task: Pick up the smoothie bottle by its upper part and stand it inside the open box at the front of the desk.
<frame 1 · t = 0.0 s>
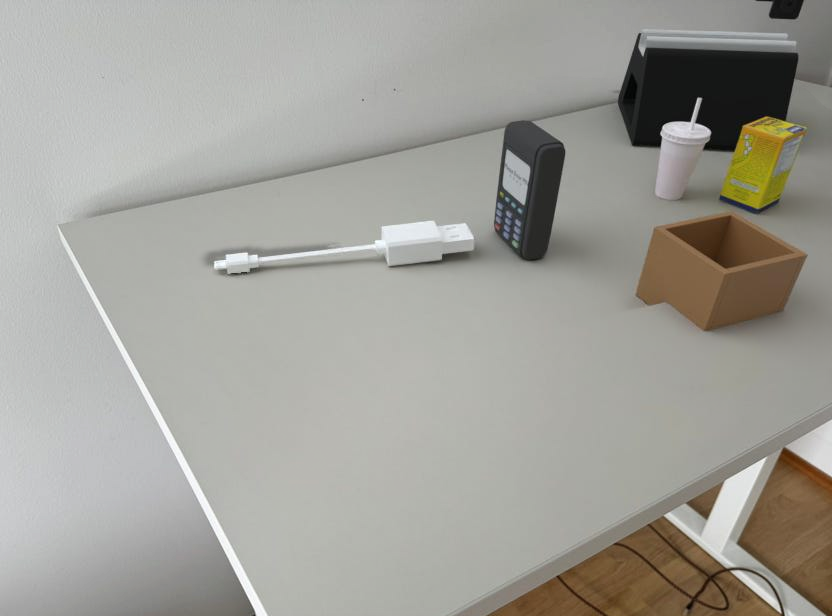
hand: (774, 9, 90), 24 cm above the table, tool pointing down, fingers open, 9 cm apart
card reader: (517, 245, 93), on the table
charging cable: (348, 262, 90), on the table
supplement box: (747, 202, 101), on the table
open box: (704, 309, 80), on the table
device stand: (690, 127, 125), on the table
smoothie: (667, 195, 104), on the table
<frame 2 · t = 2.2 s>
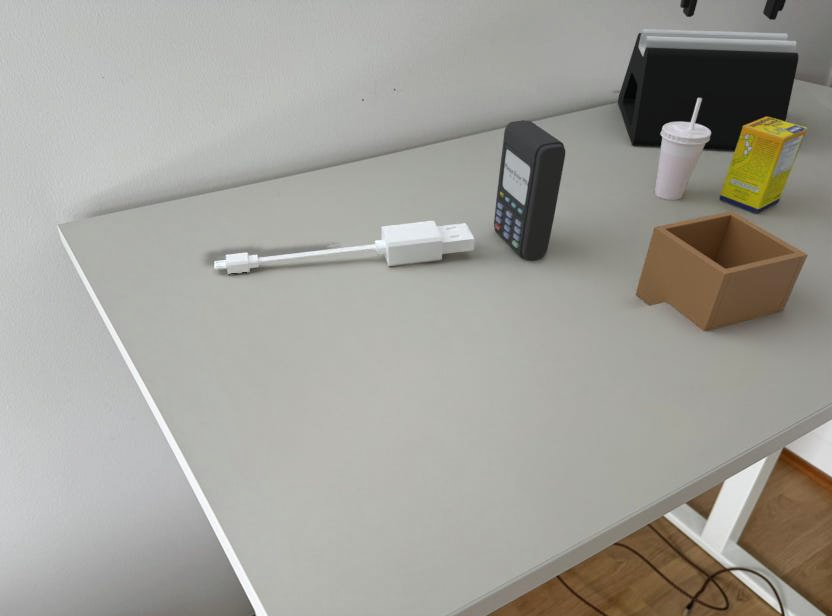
hand: (727, 15, 89), 24 cm above the table, tool pointing down, fingers open, 9 cm apart
nothing on the table moved.
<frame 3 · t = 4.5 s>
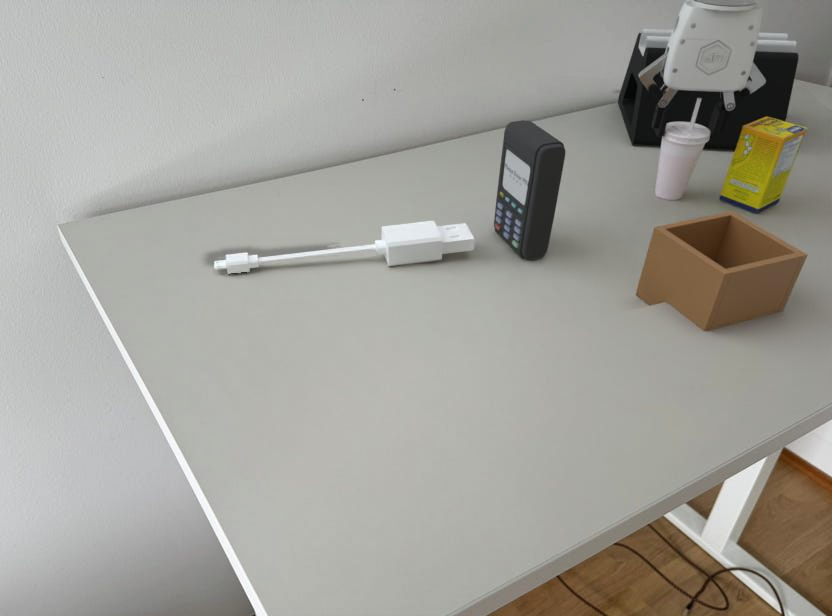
hand: (685, 133, 98), 9 cm above the table, tool pointing down, fingers closed on smoothie, 6 cm apart
smoothie: (667, 195, 104), on the table, touching gripper
everything else where it was.
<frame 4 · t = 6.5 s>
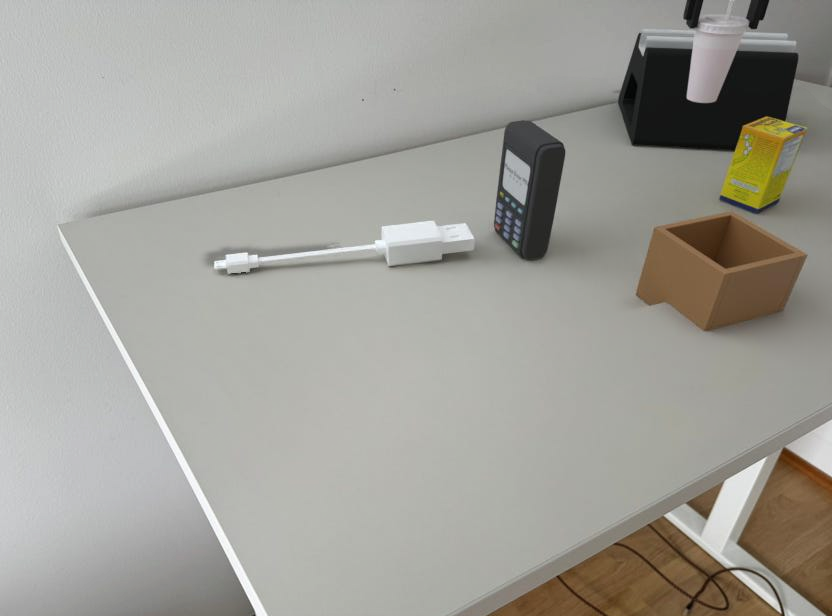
hand: (720, 25, 89), 23 cm above the table, tool pointing down, fingers closed on smoothie, 6 cm apart
smoothie: (700, 99, 94), point 14 cm above the table, touching gripper
everything else where it was.
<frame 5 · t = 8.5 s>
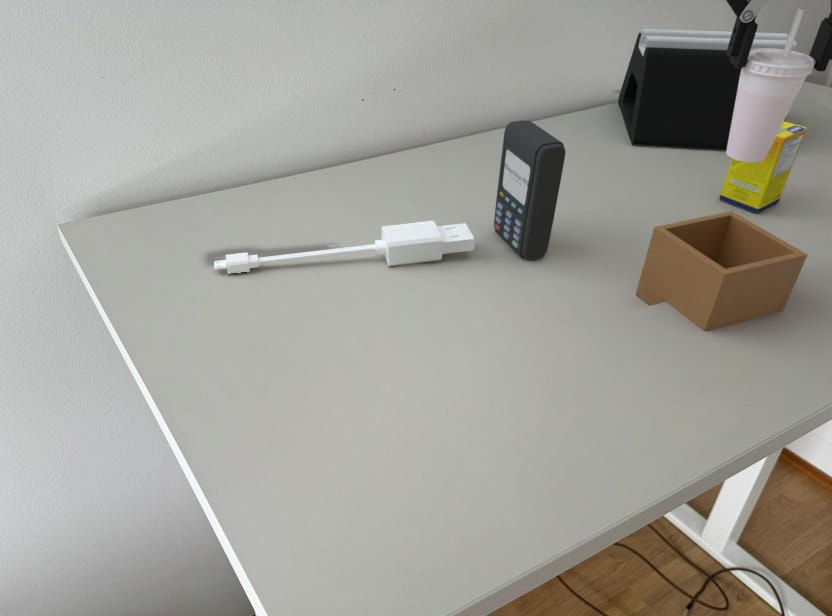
hand: (776, 64, 68), 26 cm above the table, tool pointing down, fingers closed on smoothie, 6 cm apart
smoothie: (744, 156, 73), point 16 cm above the table, touching gripper
everything else where it was.
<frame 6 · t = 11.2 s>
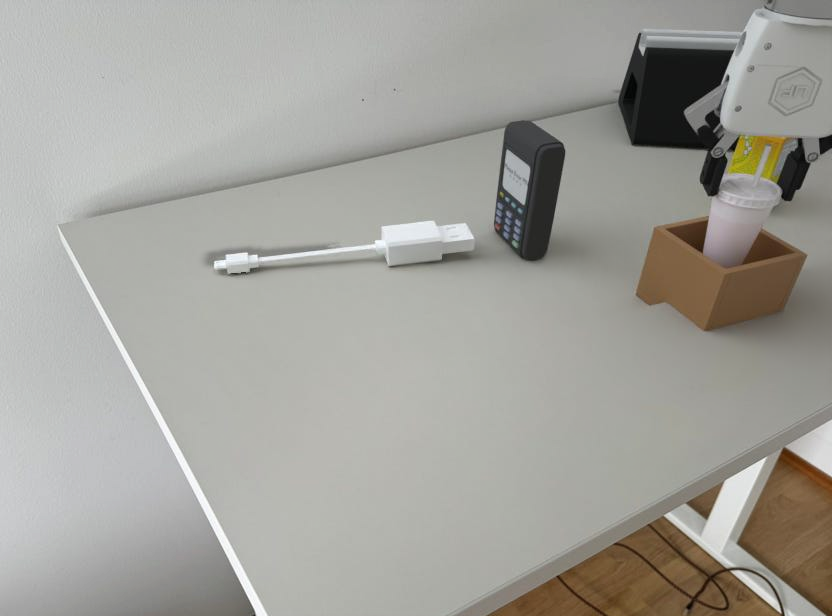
hand: (746, 191, 71), 14 cm above the table, tool pointing down, fingers closed on smoothie, 6 cm apart
smoothie: (717, 270, 77), point 5 cm above the table, touching gripper
everything else where it was.
when the fingers open (10 cm above the table, at t = 13.0 s): smoothie stays where it is, resting on open box.
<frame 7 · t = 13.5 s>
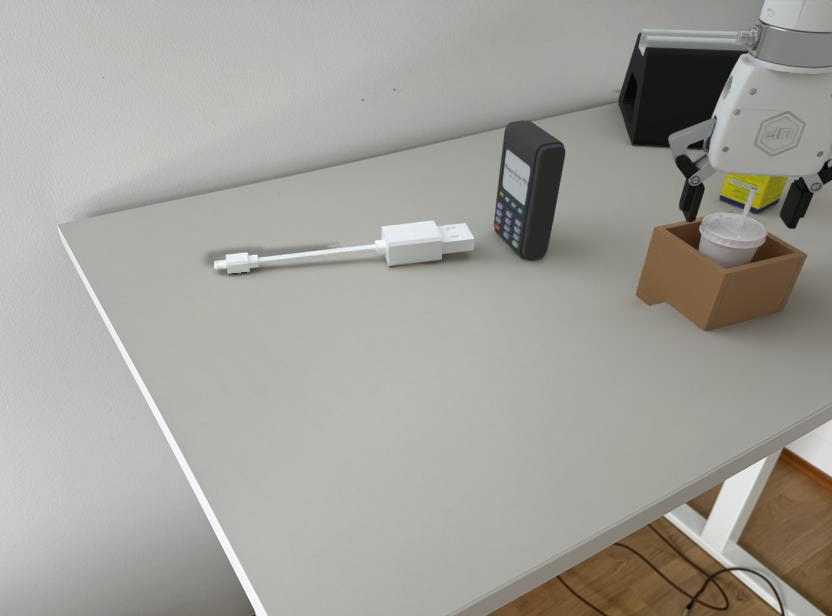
hand: (736, 219, 73), 11 cm above the table, tool pointing down, fingers open, 9 cm apart
smoothie: (706, 304, 80), point 1 cm above the table, touching open box
everything else where it was.
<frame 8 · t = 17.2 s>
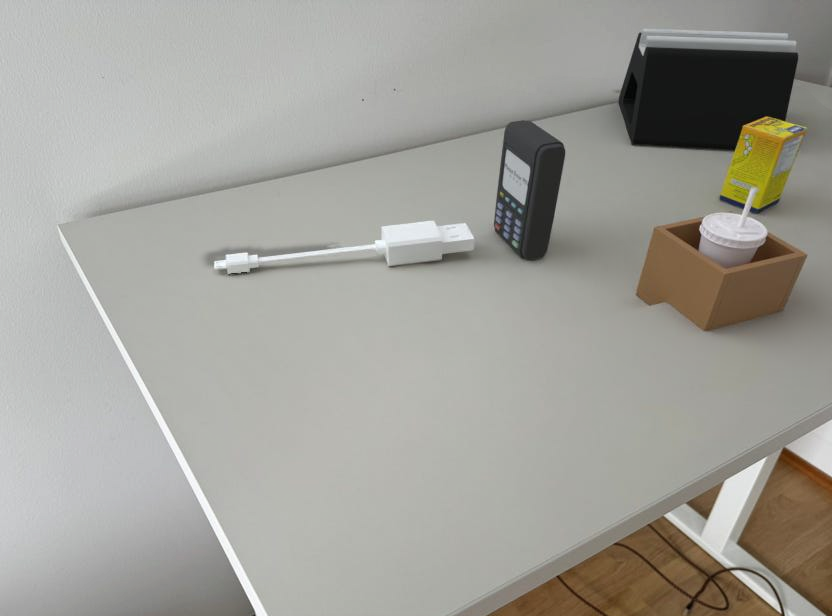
nothing on the table moved.
at the end: smoothie inside the target area in the open box (0.1 cm from its centre), point 0.6 cm above the open box's base; smoothie tilted 0°; the gripper is holding nothing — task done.
